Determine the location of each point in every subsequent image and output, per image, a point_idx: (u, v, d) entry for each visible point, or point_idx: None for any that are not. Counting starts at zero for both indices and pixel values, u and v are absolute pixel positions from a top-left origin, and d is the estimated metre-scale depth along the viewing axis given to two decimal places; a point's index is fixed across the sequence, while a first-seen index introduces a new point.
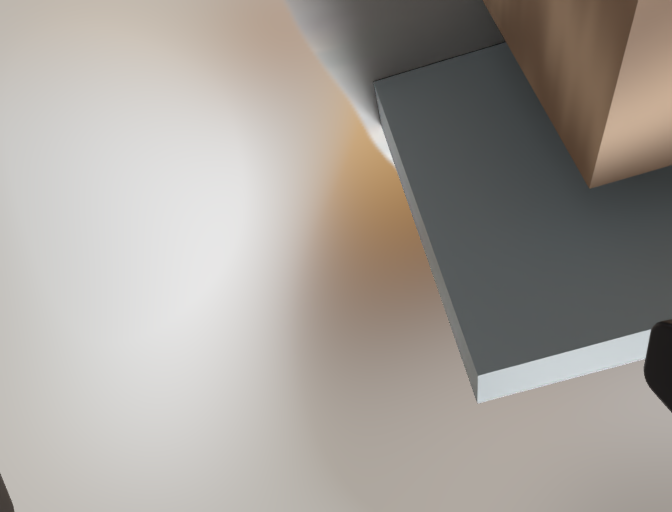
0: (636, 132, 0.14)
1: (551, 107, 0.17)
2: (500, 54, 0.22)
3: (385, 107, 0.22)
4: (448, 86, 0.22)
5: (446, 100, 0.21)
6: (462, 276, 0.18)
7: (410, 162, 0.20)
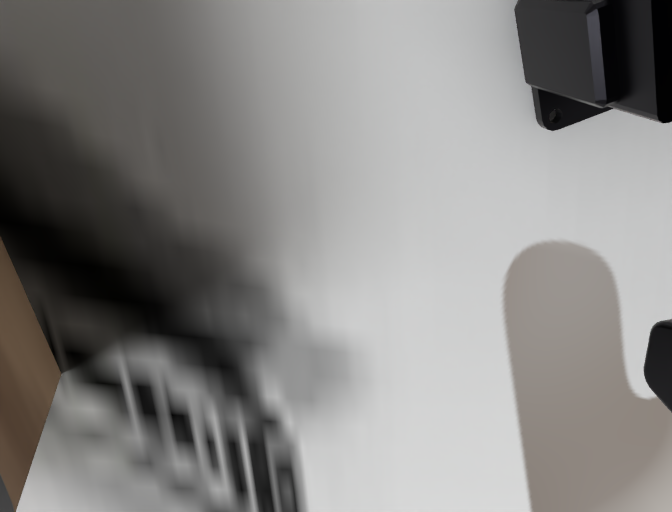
0: None
1: None
2: None
3: None
4: None
5: None
6: None
7: None
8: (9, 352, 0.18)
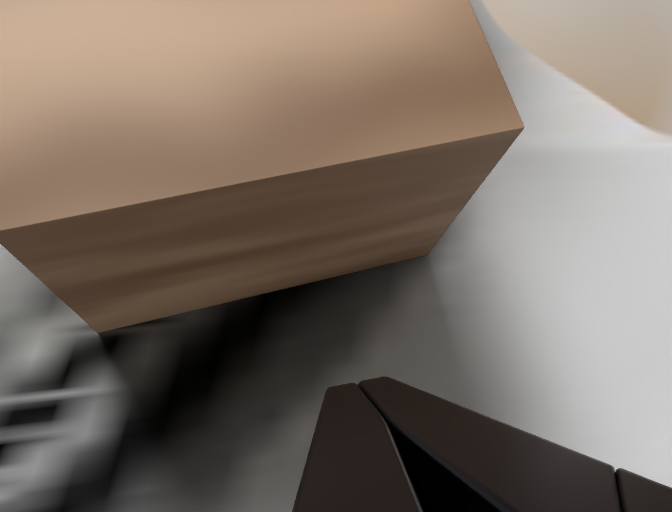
0: None
1: None
2: None
3: None
4: None
5: None
6: None
7: None
8: (171, 289, 0.18)
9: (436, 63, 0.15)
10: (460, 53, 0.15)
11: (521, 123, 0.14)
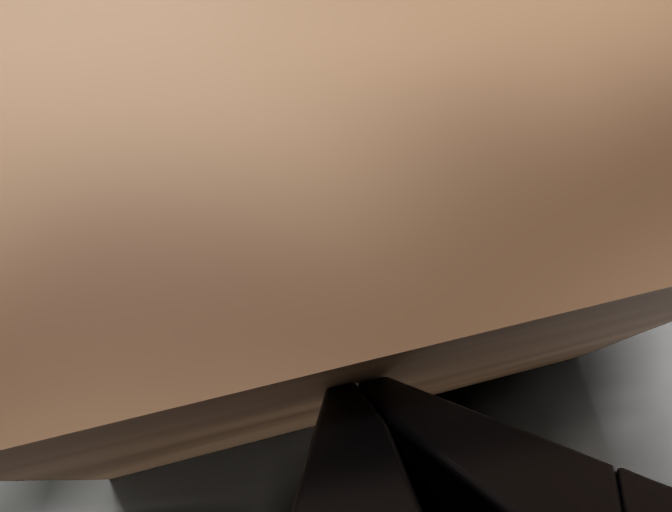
0: None
1: None
2: None
3: None
4: None
5: None
6: None
7: None
8: (225, 440, 0.12)
9: None
10: None
11: None
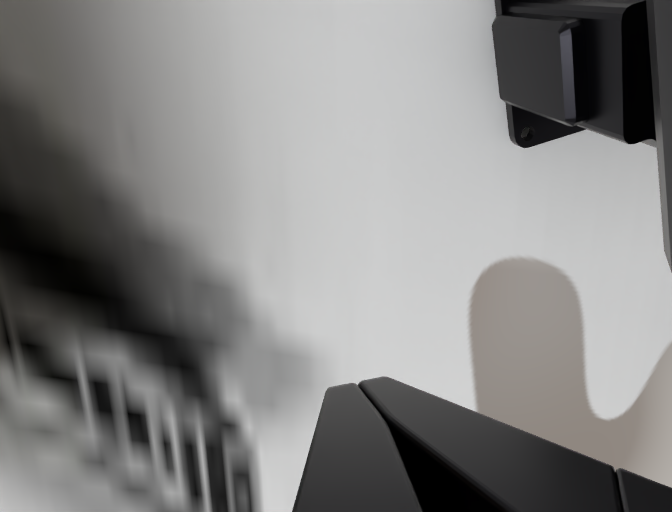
0: None
1: None
2: None
3: None
4: None
5: None
6: None
7: None
8: None
9: None
10: None
11: None
